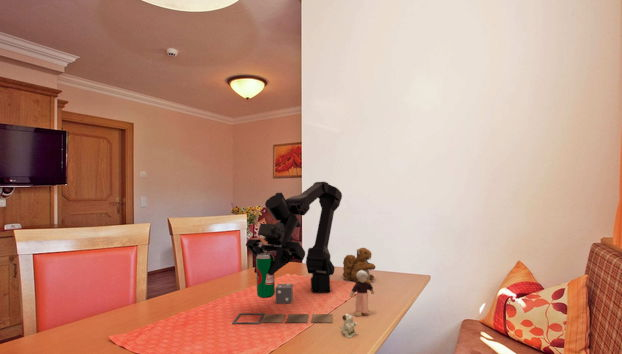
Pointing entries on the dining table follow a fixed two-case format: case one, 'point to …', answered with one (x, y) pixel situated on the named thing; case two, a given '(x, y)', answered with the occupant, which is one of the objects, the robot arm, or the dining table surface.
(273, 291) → the soda can
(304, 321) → the game track
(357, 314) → the grandmother figurine
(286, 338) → the dining table surface
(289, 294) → the die
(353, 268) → the stuffed squirrel
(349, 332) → the toy dog
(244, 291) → the dining table surface
